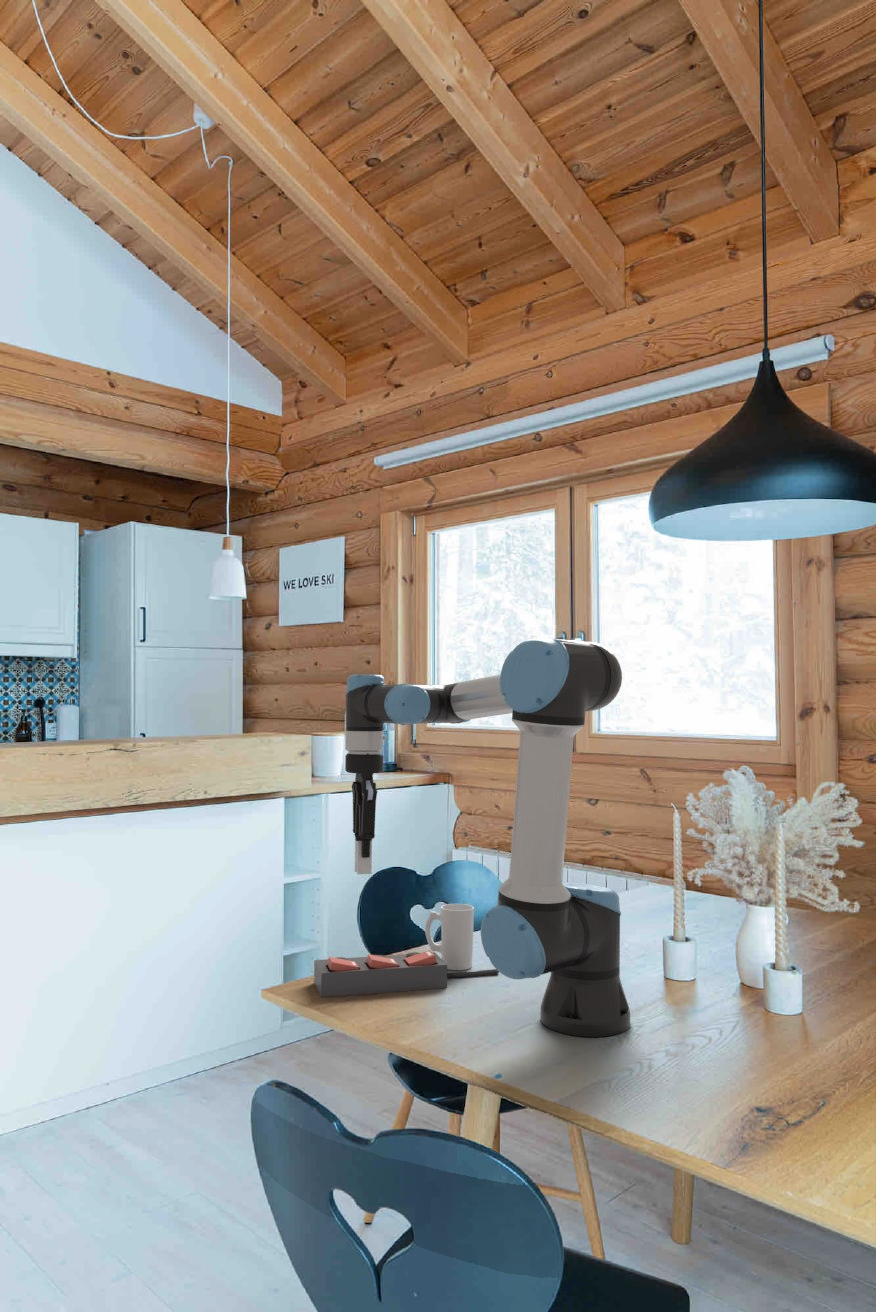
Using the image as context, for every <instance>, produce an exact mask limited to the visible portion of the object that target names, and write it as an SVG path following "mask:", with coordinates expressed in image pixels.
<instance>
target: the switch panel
mask: <svg viewBox="0 0 876 1312" xmlns="http://www.w3.org/2000/svg"><path fill="white" fill-rule="evenodd" d="M431 952H432V953H433V954H434V955H435V958H436V963H433V964H430V965H420V966H407V965H406V963H405V959H404V958H407V957H410V956H413V955H416V954H419V953H420V952H416V951H413V952H409V953H405V954H391V955H383V954H374V955H375V956H380V957H385V958H390V959H394V960H395V961H396V962H397V964H398V967H392V968H373V967H370V966H369V965H368V963H367V962H366V960H367V956H361V957H359V956H358V957H342V956H340V957H335V958H338V959H344V960H349V961H354V962H356V964H357V965H358V966H359V969H358V970H348V971H334V970H330V968H329V967H328V965H327V962H328V959H329V958H328V959H315V960H314V964H313V965H314V966H313V967H314V968H313V985H314V986H315V988H316V990H317V991H318V994H319V996H320V998H329V997H331V998H332V997H340V996H341V997H342V996H343V997H344V996H356V995H357V996H358V995H368V994H369V995H370V994H383V993H393V992H394V993H395V992H407V991H408V992H409V991H421V990H422V991H423V990H432V989H433V990H434V989H447V988H448V979H451V978H452V979H453V978H465V977H479V976H481V977H482V976H493V975H498V974H500V972H499V971H498V970H497V969H496V968H492V969H491V968H490V969H478V970H477V969H476V970H467V971H466V970H462V971H452V972H451V971H450V972H448V969H447V964H446V963H445V962H444V961H443V960H442V957H440V956H439V955H438V954H437V952H436V951H431ZM314 977H315V978H314Z"/></svg>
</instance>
